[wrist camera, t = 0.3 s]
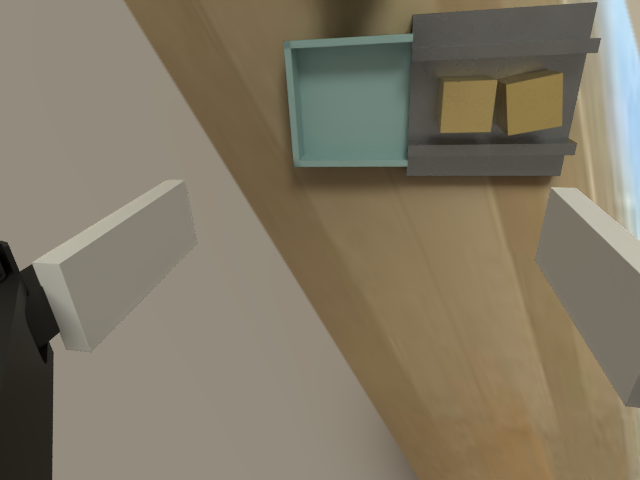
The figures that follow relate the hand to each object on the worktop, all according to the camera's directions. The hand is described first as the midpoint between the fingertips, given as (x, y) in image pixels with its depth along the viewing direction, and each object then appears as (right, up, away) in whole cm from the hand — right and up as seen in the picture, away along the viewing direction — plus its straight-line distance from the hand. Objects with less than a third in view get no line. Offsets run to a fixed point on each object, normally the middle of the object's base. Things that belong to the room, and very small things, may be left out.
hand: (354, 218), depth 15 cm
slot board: (+14, +12, +22) cm, 29 cm away
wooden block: (+11, +12, +21) cm, 27 cm away
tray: (+2, +13, +24) cm, 27 cm away
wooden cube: (+16, +12, +20) cm, 29 cm away
